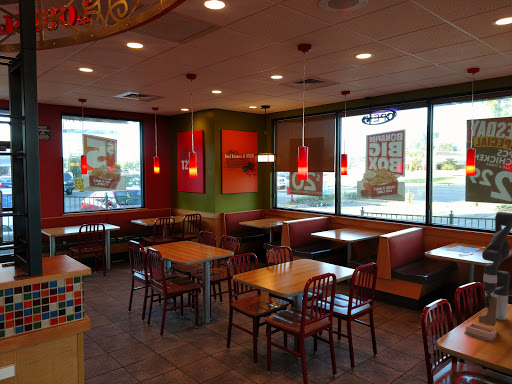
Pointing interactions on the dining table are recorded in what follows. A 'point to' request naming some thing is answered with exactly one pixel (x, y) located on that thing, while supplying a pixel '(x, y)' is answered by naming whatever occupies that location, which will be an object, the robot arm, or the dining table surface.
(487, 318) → the wooden block
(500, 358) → the dining table surface
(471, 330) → the block holder
